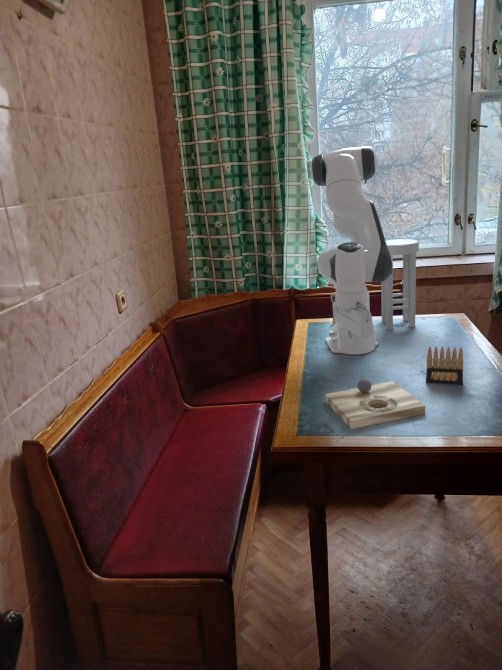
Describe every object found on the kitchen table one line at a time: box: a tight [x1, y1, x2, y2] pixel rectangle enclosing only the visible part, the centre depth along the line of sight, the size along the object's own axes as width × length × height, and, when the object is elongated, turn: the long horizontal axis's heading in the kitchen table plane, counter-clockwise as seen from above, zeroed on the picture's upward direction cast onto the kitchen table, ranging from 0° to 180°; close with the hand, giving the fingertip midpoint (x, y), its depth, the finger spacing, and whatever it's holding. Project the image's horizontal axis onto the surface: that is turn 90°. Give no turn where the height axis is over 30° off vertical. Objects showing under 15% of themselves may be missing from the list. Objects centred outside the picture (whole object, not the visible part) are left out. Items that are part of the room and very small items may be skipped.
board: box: [324, 380, 426, 430], centre depth 142 cm, size 18×22×2 cm
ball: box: [357, 378, 372, 393], centre depth 146 cm, size 4×4×4 cm
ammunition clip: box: [425, 346, 464, 386], centre depth 151 cm, size 11×2×12 cm, turn 71°
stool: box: [380, 238, 420, 330], centre depth 205 cm, size 16×16×35 cm
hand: (353, 344), depth 149 cm, fingers closed
